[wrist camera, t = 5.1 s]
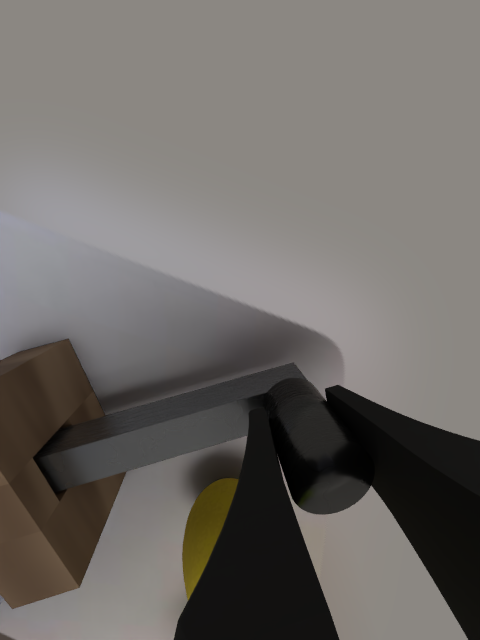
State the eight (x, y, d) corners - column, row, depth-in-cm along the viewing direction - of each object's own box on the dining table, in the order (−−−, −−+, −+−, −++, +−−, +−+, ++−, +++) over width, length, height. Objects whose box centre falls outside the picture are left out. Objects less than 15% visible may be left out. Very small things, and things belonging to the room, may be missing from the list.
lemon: (216, 440, 17) (219, 588, 9) (274, 470, 18) (318, 620, 11) (175, 493, 18) (147, 669, 10) (233, 518, 19) (248, 691, 11)
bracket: (87, 477, 17) (12, 608, 10) (18, 352, 14) (-140, 427, 8) (129, 465, 17) (79, 587, 10) (68, 338, 14) (-48, 401, 8)
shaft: (50, 472, 13) (-83, 646, 7) (25, 431, 12) (-147, 588, 6) (307, 397, 14) (378, 499, 8) (299, 354, 13) (370, 431, 7)
